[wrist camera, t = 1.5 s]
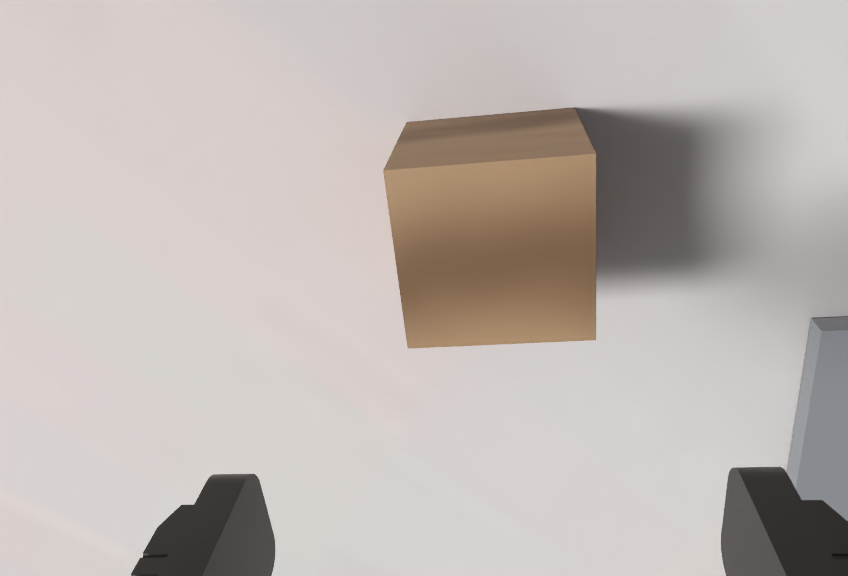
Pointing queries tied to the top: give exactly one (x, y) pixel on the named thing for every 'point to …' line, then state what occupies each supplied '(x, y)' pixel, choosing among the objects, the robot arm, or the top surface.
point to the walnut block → (495, 229)
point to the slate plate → (823, 417)
